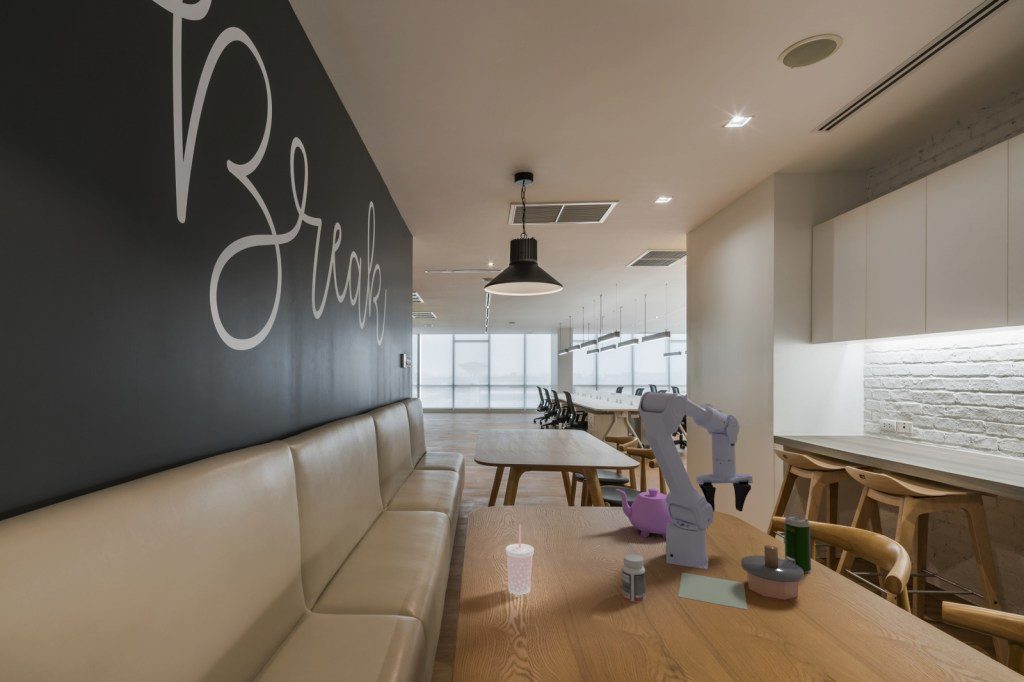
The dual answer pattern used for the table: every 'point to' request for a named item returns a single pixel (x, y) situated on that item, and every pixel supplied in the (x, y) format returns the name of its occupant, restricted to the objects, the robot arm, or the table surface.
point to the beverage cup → (519, 566)
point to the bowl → (772, 587)
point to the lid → (772, 566)
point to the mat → (713, 590)
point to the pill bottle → (633, 578)
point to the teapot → (647, 512)
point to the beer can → (798, 542)
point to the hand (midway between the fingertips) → (725, 510)
